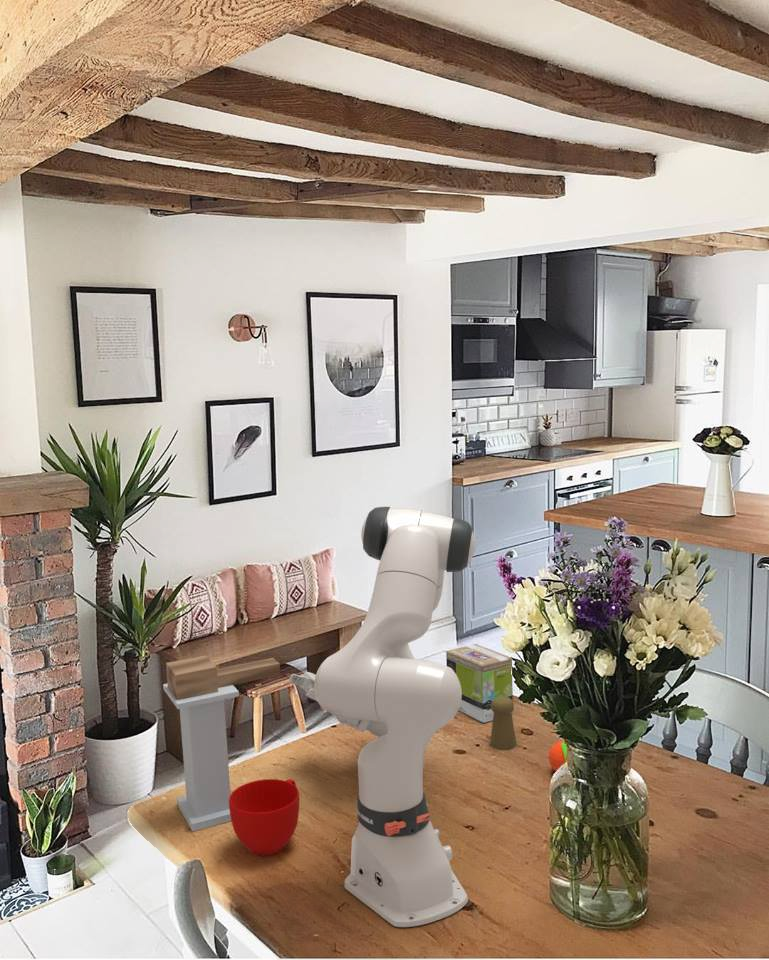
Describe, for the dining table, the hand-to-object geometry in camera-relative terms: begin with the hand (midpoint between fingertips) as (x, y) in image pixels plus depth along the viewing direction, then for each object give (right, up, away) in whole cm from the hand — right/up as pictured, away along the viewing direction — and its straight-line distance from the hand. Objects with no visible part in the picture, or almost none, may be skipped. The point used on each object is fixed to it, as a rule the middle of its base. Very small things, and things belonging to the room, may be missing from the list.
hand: (299, 684), depth 186 cm
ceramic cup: (-3, -25, -18) cm, 31 cm away
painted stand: (-18, -24, -6) cm, 30 cm away
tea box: (+42, -16, +40) cm, 60 cm away
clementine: (+56, -20, +4) cm, 60 cm away
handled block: (-14, +2, -7) cm, 16 cm away
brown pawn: (+45, -18, +19) cm, 52 cm away
